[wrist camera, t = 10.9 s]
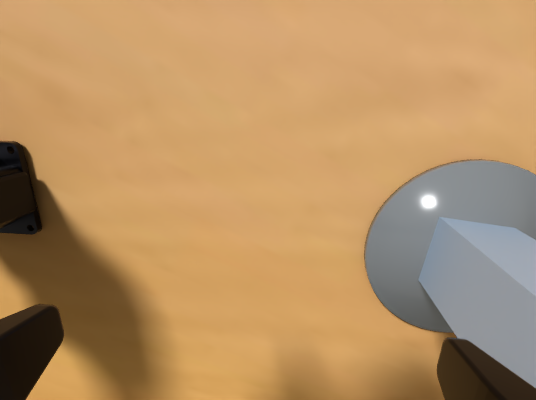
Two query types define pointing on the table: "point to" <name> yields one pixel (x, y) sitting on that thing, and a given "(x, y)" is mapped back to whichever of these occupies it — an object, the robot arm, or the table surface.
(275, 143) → the table surface
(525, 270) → the grey tall block
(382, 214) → the slate coaster
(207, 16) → the table surface
